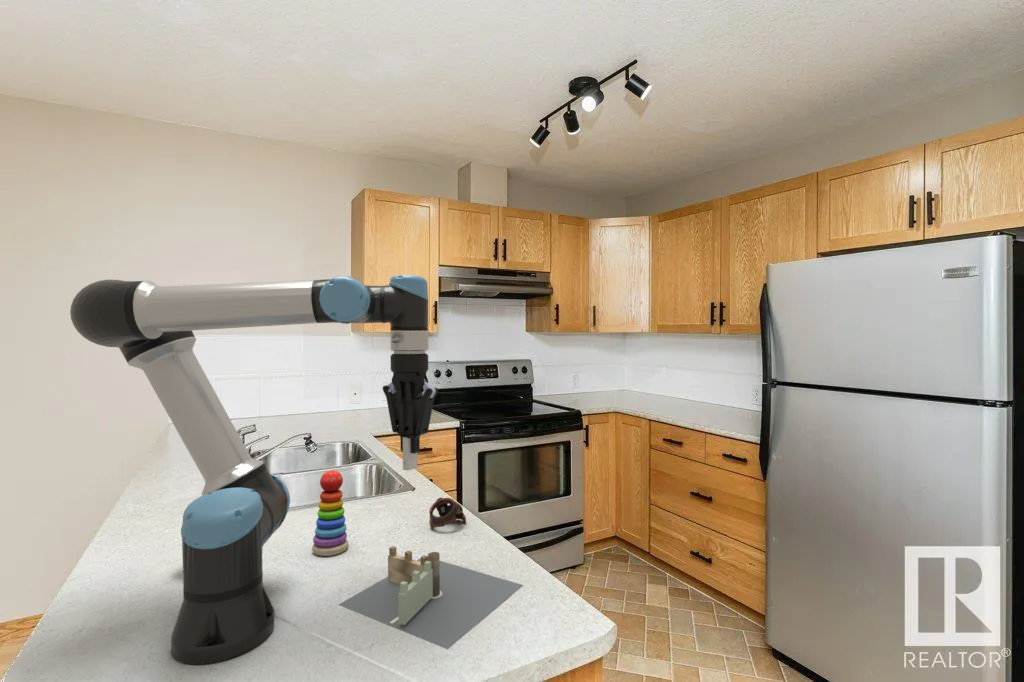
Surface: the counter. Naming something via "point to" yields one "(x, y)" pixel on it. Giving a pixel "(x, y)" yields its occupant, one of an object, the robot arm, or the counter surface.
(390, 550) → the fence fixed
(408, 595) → the folding panel
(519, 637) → the counter surface
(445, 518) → the brown jagged ring
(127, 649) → the counter surface
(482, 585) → the board
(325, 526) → the stacking toy
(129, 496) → the counter surface
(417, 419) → the robot arm
